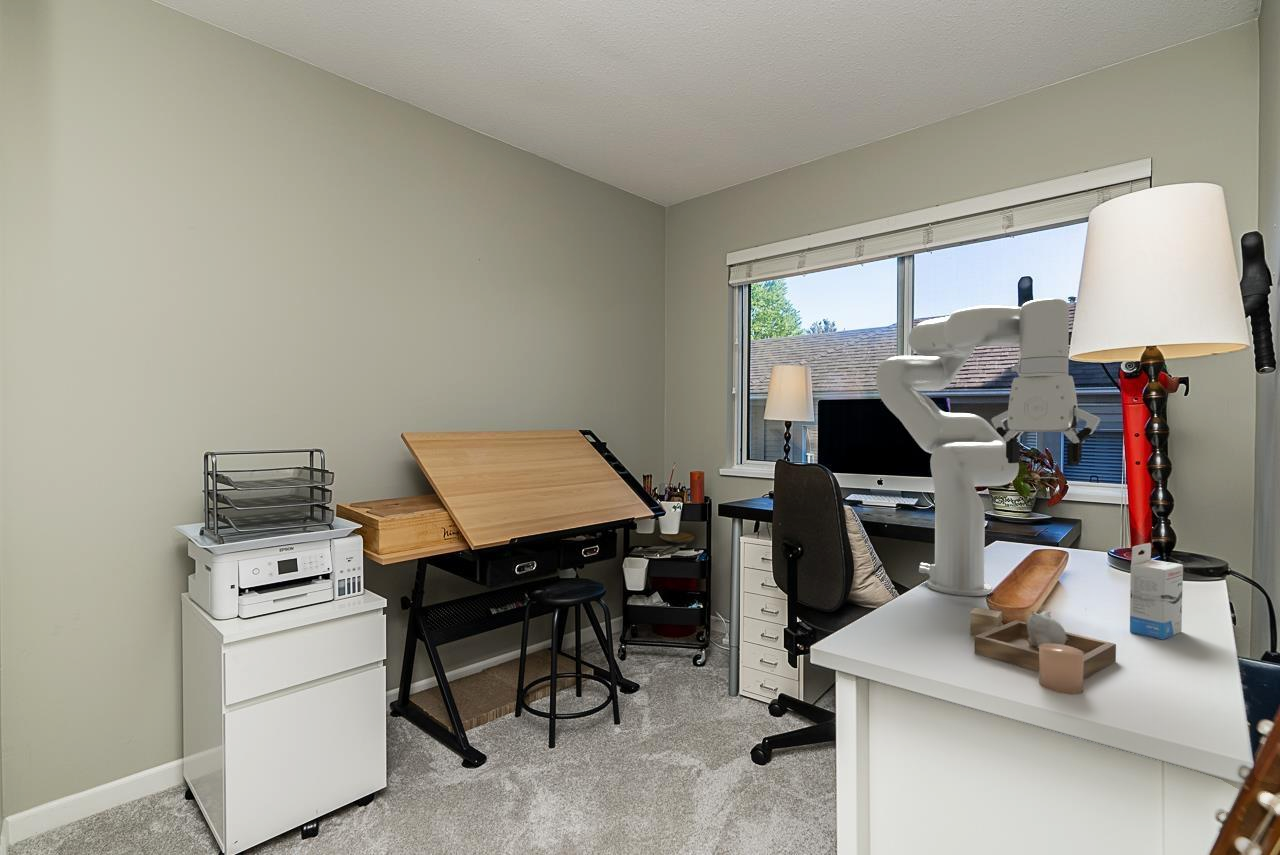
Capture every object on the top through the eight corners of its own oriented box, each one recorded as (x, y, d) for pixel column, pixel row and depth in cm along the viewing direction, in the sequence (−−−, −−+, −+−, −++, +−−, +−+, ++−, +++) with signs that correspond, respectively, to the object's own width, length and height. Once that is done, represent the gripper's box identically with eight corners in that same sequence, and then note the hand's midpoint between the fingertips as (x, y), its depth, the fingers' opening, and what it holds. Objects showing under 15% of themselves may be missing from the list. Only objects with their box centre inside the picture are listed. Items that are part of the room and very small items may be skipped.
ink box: (1164, 640, 104) (1165, 551, 104) (1128, 632, 108) (1129, 546, 108) (1183, 631, 109) (1184, 546, 108) (1148, 624, 113) (1149, 541, 113)
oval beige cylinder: (1032, 684, 86) (1032, 648, 86) (1048, 676, 89) (1048, 640, 89) (1074, 697, 82) (1074, 659, 82) (1089, 688, 85) (1089, 651, 85)
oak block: (970, 636, 106) (970, 612, 106) (975, 630, 109) (975, 607, 109) (997, 641, 103) (997, 617, 103) (1001, 635, 106) (1001, 611, 106)
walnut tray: (974, 652, 98) (974, 636, 98) (1016, 635, 106) (1016, 620, 106) (1078, 683, 86) (1078, 664, 86) (1115, 661, 95) (1115, 643, 95)
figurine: (1071, 668, 93) (1048, 638, 91) (1028, 667, 98) (1005, 638, 95) (1072, 621, 98) (1050, 591, 96) (1031, 621, 102) (1009, 593, 100)
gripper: (983, 371, 118) (982, 462, 118) (1091, 364, 104) (1090, 468, 104) (1002, 373, 123) (1001, 461, 123) (1108, 367, 109) (1107, 466, 109)
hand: (1042, 464), depth 114 cm, fingers open, 9 cm apart
